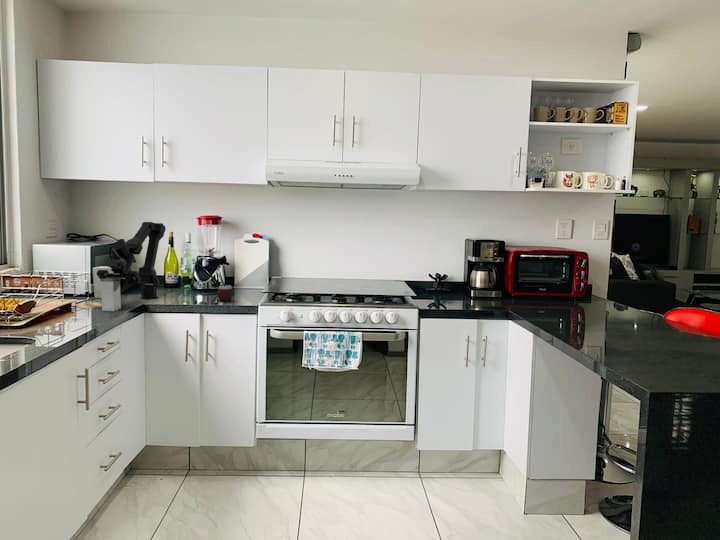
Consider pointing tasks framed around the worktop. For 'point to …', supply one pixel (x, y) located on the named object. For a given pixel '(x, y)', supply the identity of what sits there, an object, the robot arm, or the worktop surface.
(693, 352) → the worktop surface
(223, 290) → the mate gourd
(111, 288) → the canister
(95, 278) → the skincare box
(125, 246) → the robot arm
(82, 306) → the oak board
